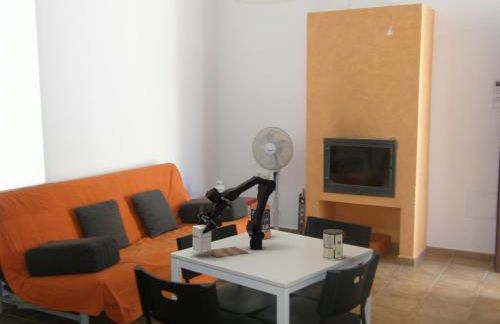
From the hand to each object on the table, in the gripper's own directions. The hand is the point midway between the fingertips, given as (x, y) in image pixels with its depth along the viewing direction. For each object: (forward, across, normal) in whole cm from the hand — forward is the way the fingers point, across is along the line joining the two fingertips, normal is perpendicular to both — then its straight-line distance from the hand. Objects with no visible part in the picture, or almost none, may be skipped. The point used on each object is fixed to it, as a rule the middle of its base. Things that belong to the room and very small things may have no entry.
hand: (199, 232), depth 281 cm
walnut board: (-2, 0, +20) cm, 20 cm away
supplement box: (+6, 0, +8) cm, 10 cm away
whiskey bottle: (-27, -22, +45) cm, 57 cm away
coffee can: (-32, +36, +51) cm, 70 cm away
